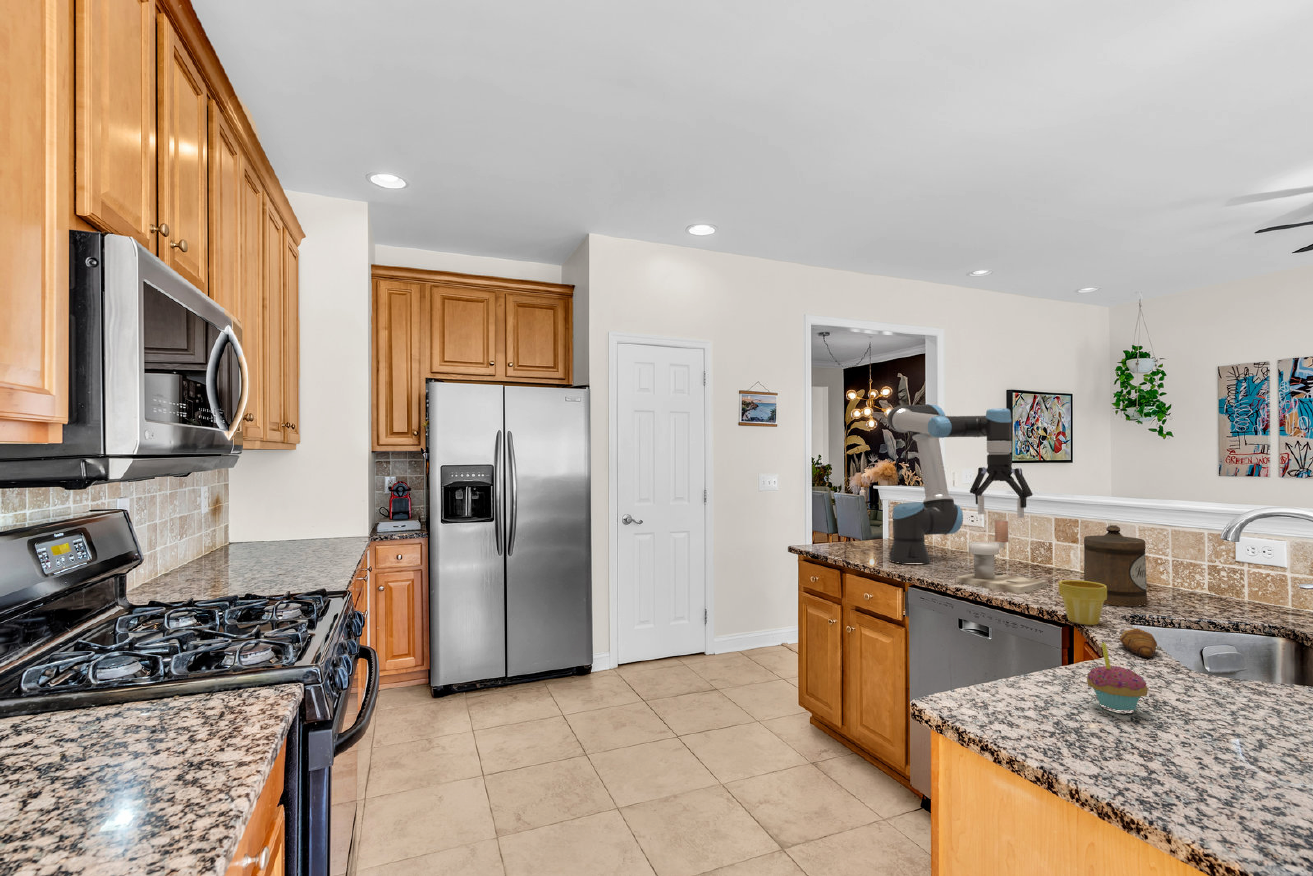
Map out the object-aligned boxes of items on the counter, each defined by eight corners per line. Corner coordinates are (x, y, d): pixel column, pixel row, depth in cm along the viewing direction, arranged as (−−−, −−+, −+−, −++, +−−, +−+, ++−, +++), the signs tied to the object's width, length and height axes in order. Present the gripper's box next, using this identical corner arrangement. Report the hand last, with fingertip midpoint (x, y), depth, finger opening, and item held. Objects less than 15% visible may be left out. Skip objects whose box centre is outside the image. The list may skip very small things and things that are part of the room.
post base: (956, 582, 213) (955, 552, 213) (983, 576, 222) (982, 548, 222) (1020, 594, 196) (1019, 561, 196) (1047, 587, 204) (1046, 556, 204)
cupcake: (1103, 718, 106) (1101, 646, 107) (1077, 698, 115) (1075, 631, 115) (1160, 720, 105) (1157, 647, 105) (1129, 700, 114) (1127, 632, 114)
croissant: (1167, 662, 133) (1166, 638, 133) (1128, 658, 136) (1127, 635, 136) (1147, 643, 146) (1146, 622, 146) (1112, 640, 148) (1111, 619, 148)
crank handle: (989, 555, 205) (988, 525, 205) (963, 552, 212) (962, 523, 213) (1018, 550, 214) (1017, 521, 214) (992, 547, 222) (991, 519, 222)
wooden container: (1153, 609, 175) (1150, 529, 176) (1088, 604, 182) (1086, 527, 182) (1141, 597, 188) (1138, 523, 189) (1081, 593, 195) (1079, 521, 196)
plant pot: (1093, 616, 169) (1092, 579, 169) (1117, 627, 158) (1116, 588, 159) (1051, 616, 170) (1050, 579, 170) (1073, 627, 160) (1072, 587, 160)
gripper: (1043, 453, 209) (1044, 518, 209) (970, 453, 230) (971, 512, 230) (1031, 454, 205) (1032, 520, 205) (958, 453, 226) (959, 513, 226)
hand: (1000, 515), depth 217 cm, fingers open, 13 cm apart
